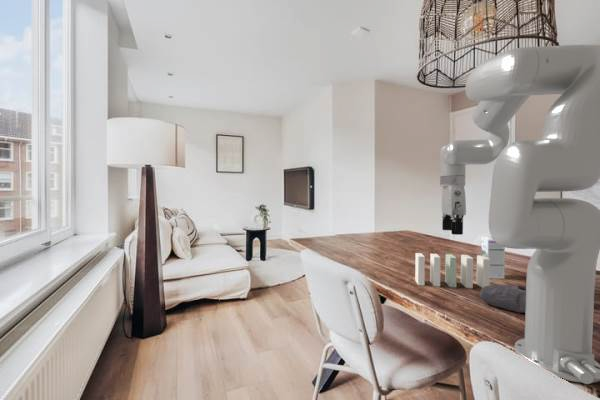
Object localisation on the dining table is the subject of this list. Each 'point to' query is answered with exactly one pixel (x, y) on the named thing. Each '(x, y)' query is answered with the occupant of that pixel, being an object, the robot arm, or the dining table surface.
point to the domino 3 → (450, 270)
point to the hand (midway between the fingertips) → (452, 232)
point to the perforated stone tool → (505, 297)
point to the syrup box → (494, 257)
